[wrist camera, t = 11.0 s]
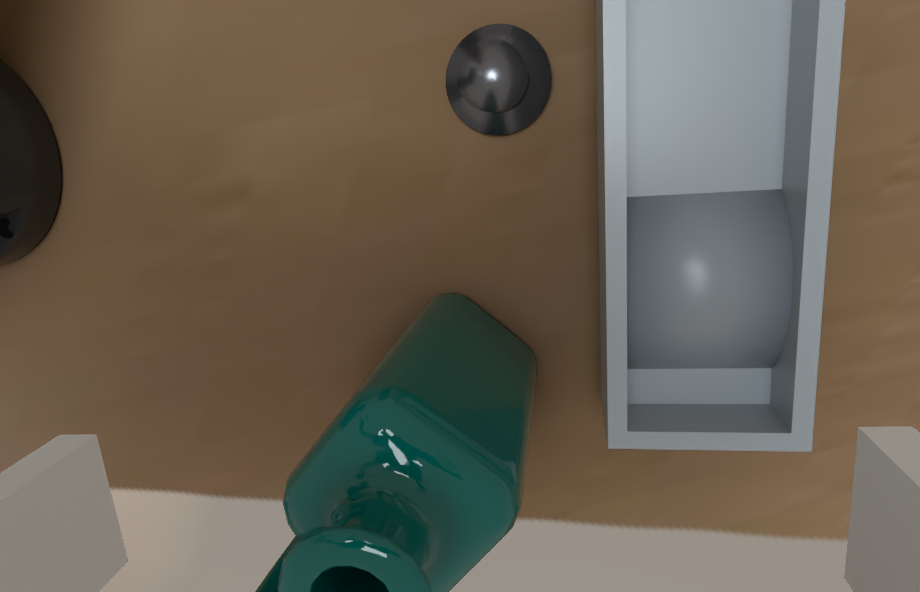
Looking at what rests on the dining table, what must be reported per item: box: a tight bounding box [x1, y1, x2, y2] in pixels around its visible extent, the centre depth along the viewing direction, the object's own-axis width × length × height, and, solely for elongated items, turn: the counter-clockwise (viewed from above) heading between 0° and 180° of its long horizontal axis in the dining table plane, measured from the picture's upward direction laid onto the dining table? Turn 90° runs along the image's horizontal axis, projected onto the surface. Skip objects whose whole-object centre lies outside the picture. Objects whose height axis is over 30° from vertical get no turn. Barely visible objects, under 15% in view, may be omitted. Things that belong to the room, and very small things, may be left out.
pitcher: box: [256, 294, 537, 592], centre depth 31 cm, size 10×8×22 cm
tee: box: [446, 24, 551, 135], centre depth 34 cm, size 6×6×4 cm
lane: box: [595, 0, 845, 452], centre depth 33 cm, size 10×42×14 cm, turn 4°
